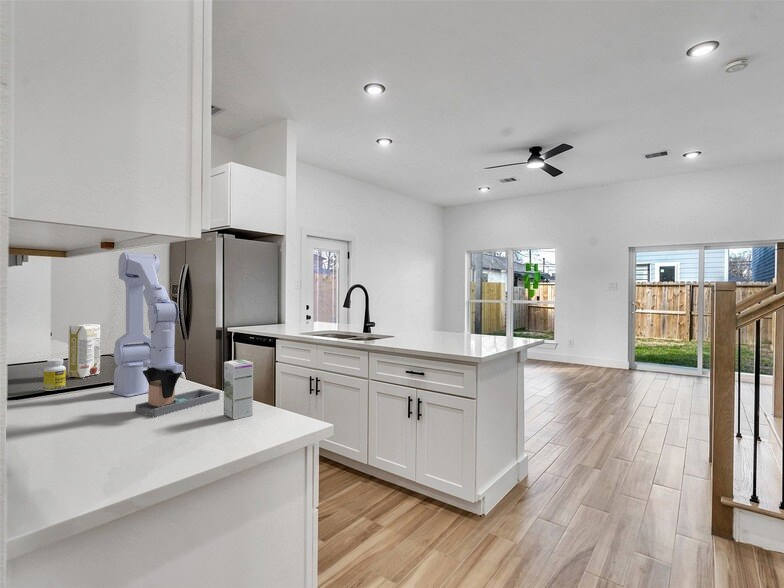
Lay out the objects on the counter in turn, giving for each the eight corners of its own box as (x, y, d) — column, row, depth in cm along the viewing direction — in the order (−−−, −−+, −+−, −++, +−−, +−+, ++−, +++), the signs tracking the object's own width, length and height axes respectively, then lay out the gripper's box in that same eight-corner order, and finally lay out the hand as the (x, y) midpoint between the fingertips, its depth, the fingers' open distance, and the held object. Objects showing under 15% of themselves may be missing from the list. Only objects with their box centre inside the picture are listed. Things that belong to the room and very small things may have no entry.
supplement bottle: (55, 392, 125) (56, 361, 125) (38, 392, 125) (38, 361, 125) (70, 388, 131) (70, 358, 131) (53, 388, 131) (53, 358, 131)
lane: (135, 411, 109) (135, 404, 109) (200, 395, 127) (200, 388, 126) (155, 417, 105) (155, 409, 105) (219, 399, 123) (219, 392, 123)
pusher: (162, 405, 114) (162, 397, 114) (178, 401, 118) (179, 393, 118) (175, 408, 111) (175, 400, 111) (192, 404, 116) (192, 395, 116)
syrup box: (253, 415, 108) (254, 361, 108) (232, 420, 104) (233, 364, 104) (243, 410, 112) (244, 358, 112) (222, 415, 108) (223, 361, 107)
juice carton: (103, 374, 151) (104, 324, 151) (81, 379, 143) (82, 326, 143) (86, 373, 153) (87, 323, 152) (64, 378, 144) (64, 325, 144)
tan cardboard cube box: (148, 403, 110) (148, 381, 110) (164, 400, 114) (164, 378, 114) (158, 406, 108) (159, 384, 108) (174, 402, 112) (174, 380, 112)
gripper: (131, 346, 110) (131, 395, 110) (165, 350, 104) (164, 403, 104) (157, 343, 117) (156, 389, 117) (190, 347, 110) (189, 397, 110)
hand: (161, 396), depth 111 cm, fingers closed on tan cardboard cube box, 4 cm apart
